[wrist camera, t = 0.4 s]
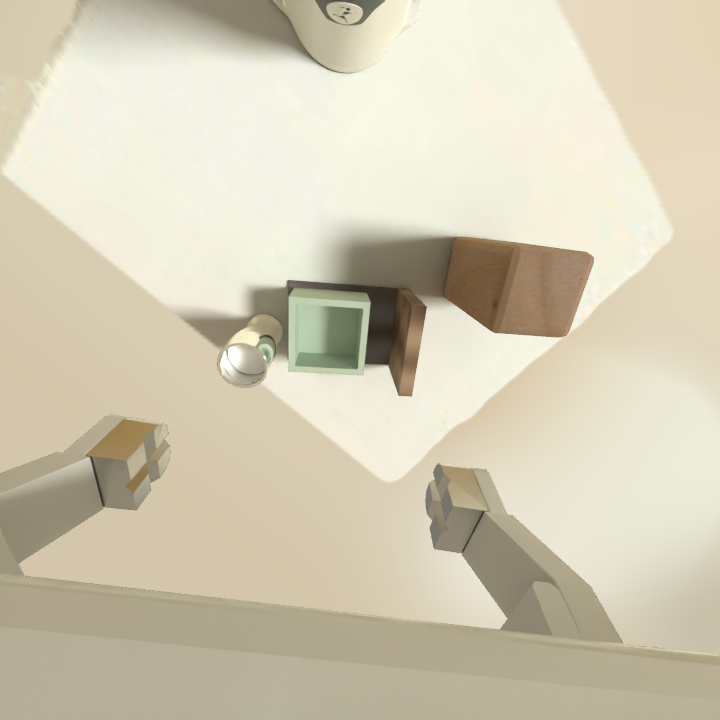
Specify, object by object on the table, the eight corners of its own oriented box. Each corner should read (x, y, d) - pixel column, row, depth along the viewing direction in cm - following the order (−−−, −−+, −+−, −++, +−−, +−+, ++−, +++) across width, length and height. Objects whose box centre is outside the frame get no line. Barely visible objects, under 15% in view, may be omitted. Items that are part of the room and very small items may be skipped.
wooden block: (440, 297, 57) (490, 334, 39) (452, 235, 53) (513, 245, 35) (496, 301, 58) (569, 340, 40) (511, 241, 54) (601, 253, 36)
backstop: (288, 280, 54) (276, 295, 43) (409, 289, 56) (426, 306, 45) (288, 358, 60) (277, 390, 49) (398, 364, 61) (411, 396, 50)
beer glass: (241, 344, 58) (212, 383, 44) (247, 306, 55) (218, 335, 42) (281, 353, 59) (264, 394, 45) (289, 317, 57) (273, 348, 43)
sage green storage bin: (294, 287, 54) (288, 296, 48) (366, 292, 55) (370, 302, 49) (293, 354, 59) (288, 371, 52) (360, 358, 60) (363, 375, 53)
